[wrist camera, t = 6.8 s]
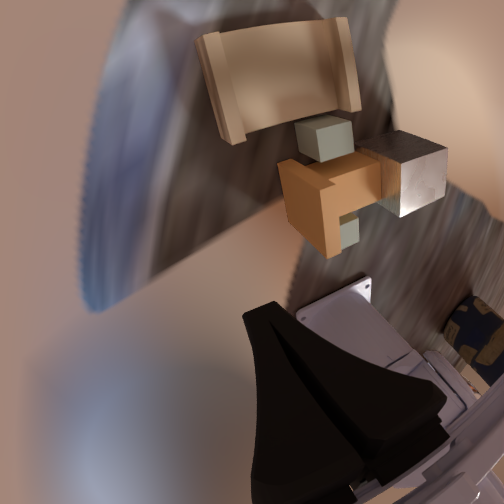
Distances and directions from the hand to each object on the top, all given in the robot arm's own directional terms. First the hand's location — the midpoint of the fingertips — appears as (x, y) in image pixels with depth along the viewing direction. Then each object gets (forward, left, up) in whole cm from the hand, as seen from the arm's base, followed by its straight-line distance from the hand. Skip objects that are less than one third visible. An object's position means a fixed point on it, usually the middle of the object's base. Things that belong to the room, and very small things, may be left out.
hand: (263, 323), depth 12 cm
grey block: (0, -14, -10) cm, 17 cm away
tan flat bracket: (+8, -6, -9) cm, 14 cm away
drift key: (0, -9, -9) cm, 13 cm away
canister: (-33, -34, -10) cm, 49 cm away
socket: (0, -8, -9) cm, 13 cm away
